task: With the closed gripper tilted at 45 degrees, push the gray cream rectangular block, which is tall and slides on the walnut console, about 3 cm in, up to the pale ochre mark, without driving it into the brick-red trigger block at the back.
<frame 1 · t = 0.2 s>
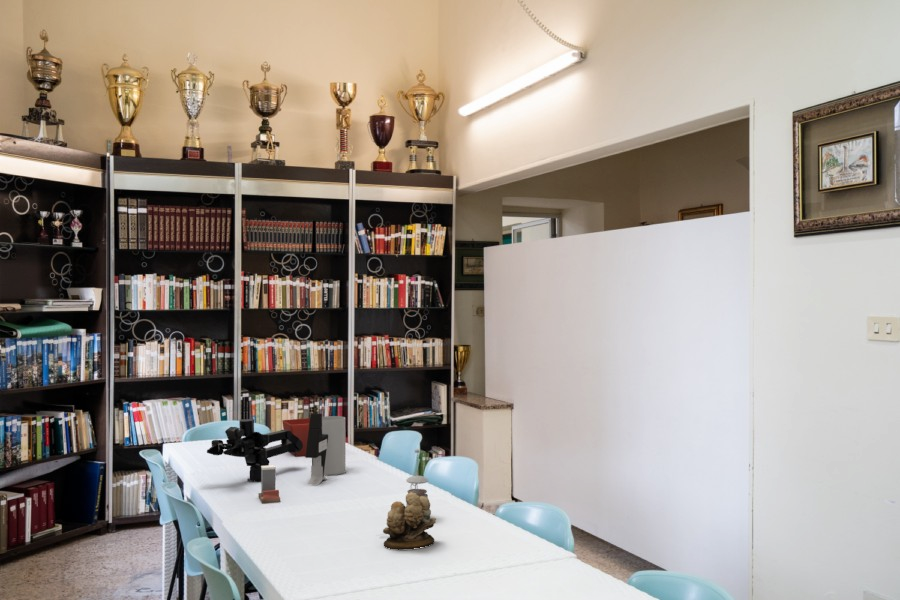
hand: (215, 452, 329), 17 cm above the table, tool horizontal, fingers open, 9 cm apart
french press: (416, 517, 292), on the table
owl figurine: (410, 544, 260), on the table
gray cream rectangular block: (268, 479, 320), point 7 cm above the table, slide at 0.0 cm
plant pot: (304, 454, 411), on the table
cylinder vase: (331, 473, 366), on the table
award: (317, 482, 348), on the table
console: (269, 499, 317), on the table
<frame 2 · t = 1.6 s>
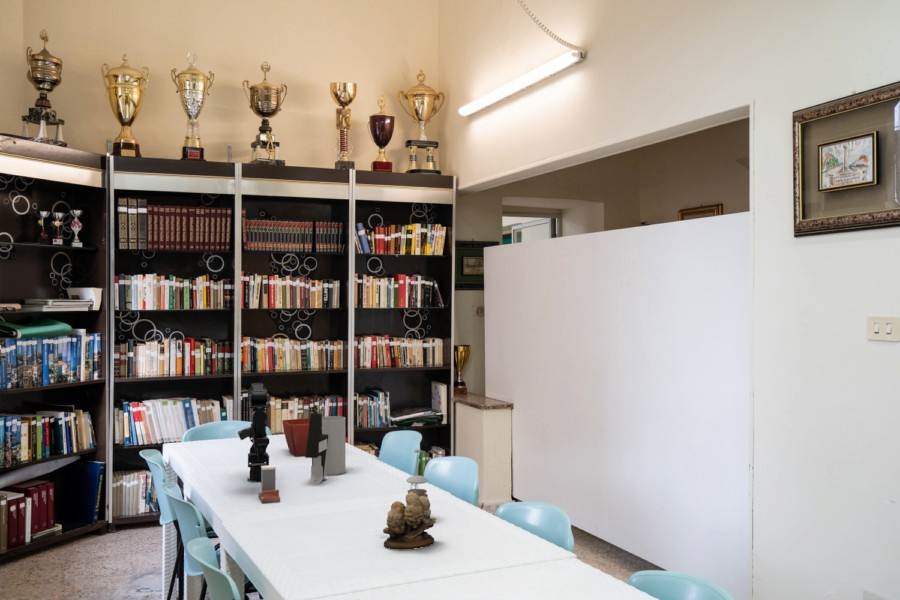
hand: (259, 458, 333), 13 cm above the table, tool pointing down, fingers open, 8 cm apart
nothing on the table moved.
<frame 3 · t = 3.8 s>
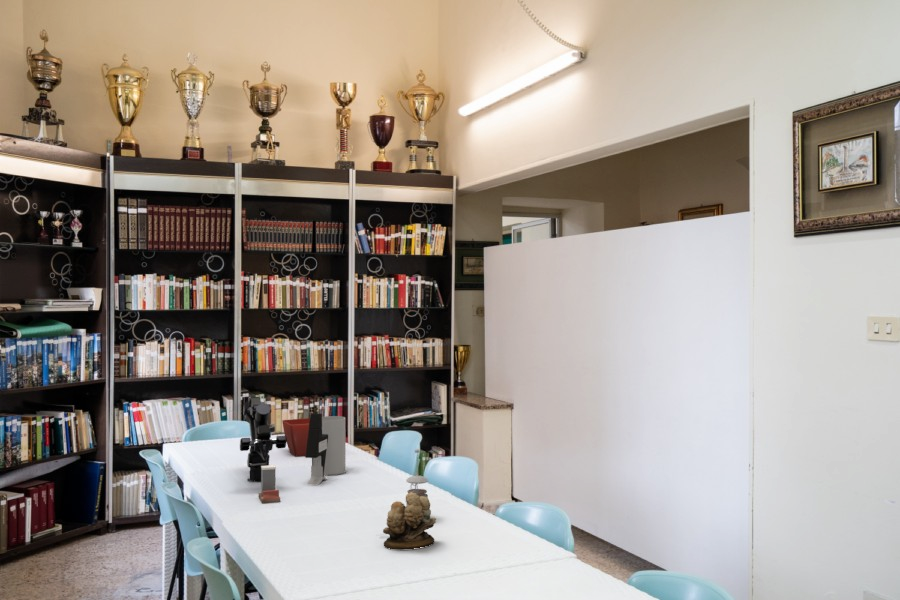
hand: (265, 460, 328), 14 cm above the table, tool tilted 45°, fingers closed
nothing on the table moved.
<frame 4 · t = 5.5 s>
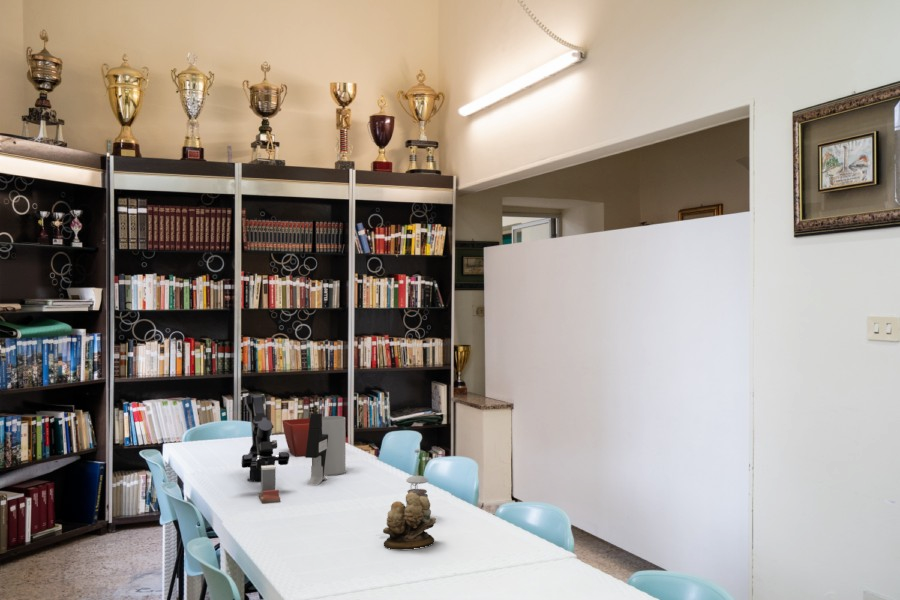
hand: (267, 477, 322), 8 cm above the table, tool tilted 45°, fingers closed, pressing on gray cream rectangular block
gray cream rectangular block: (268, 479, 320), point 7 cm above the table, slide at 0.0 cm, touching gripper
everything else where it was.
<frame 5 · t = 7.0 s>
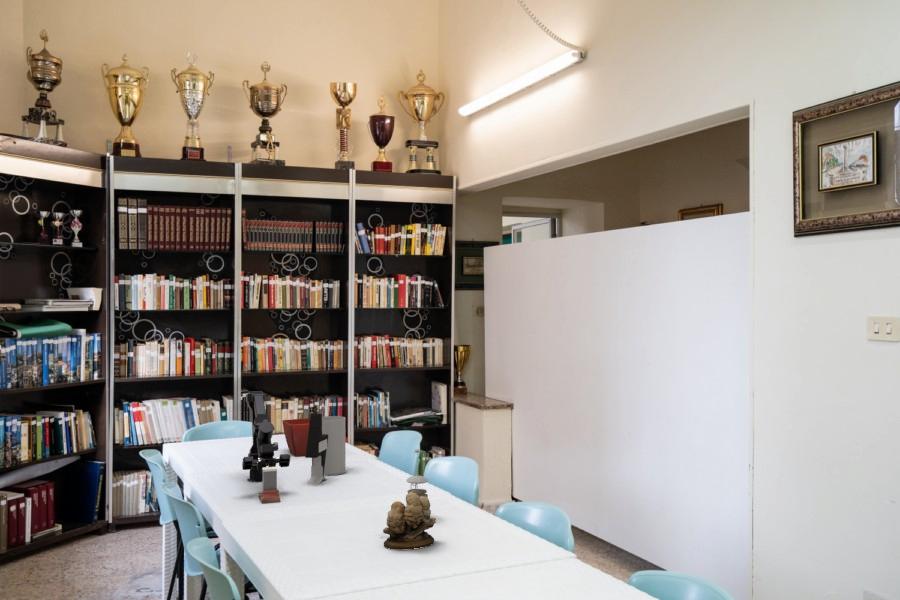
hand: (268, 479, 319), 7 cm above the table, tool tilted 45°, fingers closed
gray cream rectangular block: (269, 481, 316), point 7 cm above the table, slide at 3.5 cm
everything else where it was.
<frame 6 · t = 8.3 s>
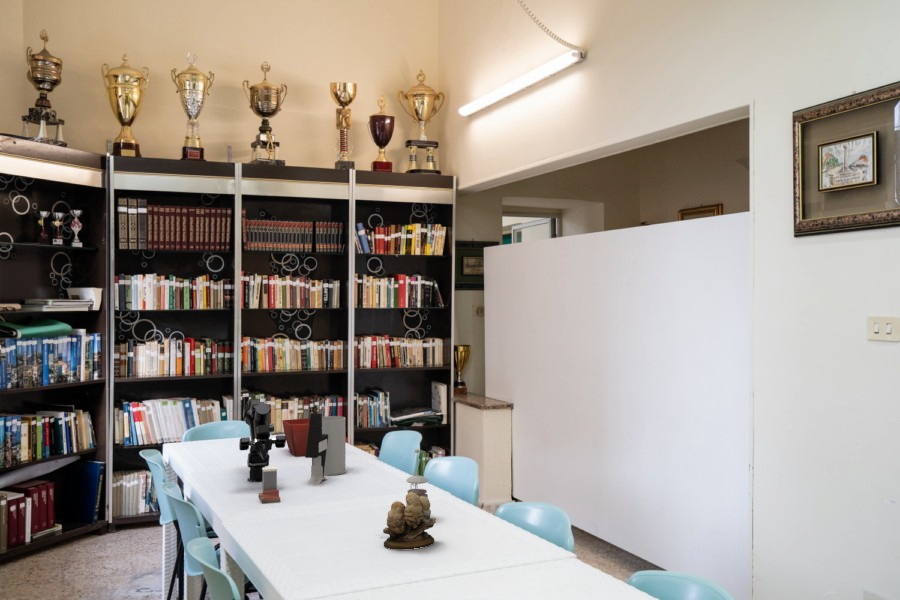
hand: (264, 459, 329), 13 cm above the table, tool tilted 45°, fingers closed
nothing on the table moved.
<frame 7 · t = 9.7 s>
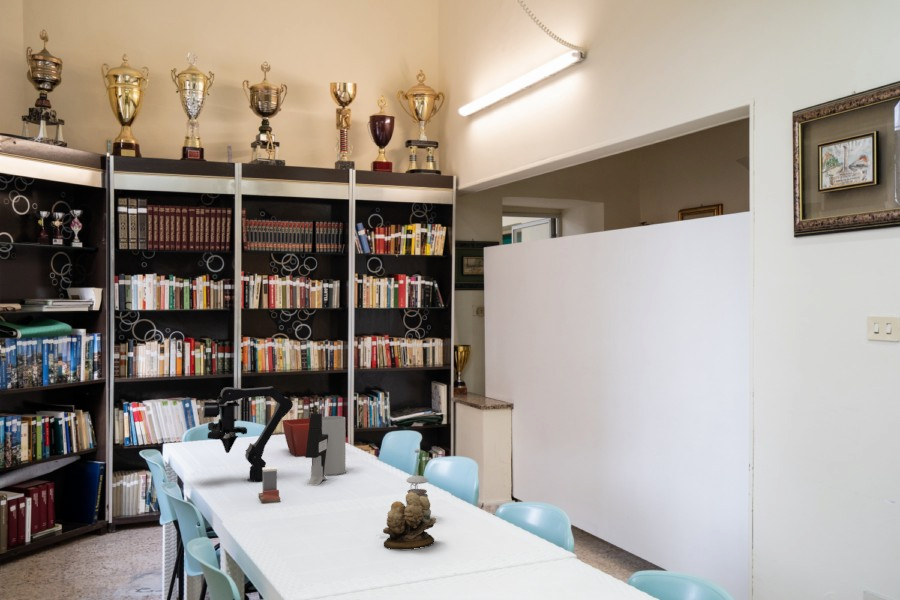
hand: (227, 452, 346), 13 cm above the table, tool pointing down, fingers closed
nothing on the table moved.
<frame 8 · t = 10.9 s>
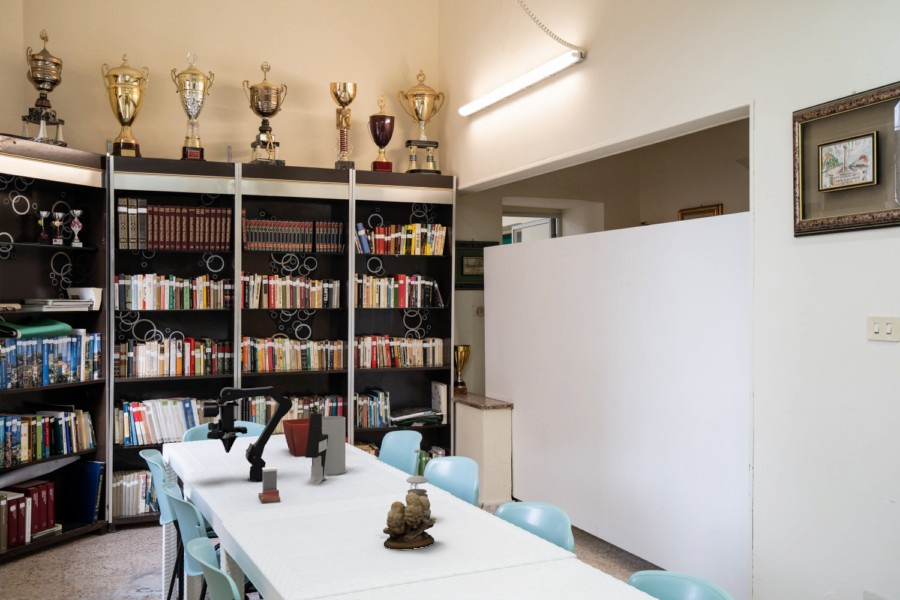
hand: (227, 452, 346), 13 cm above the table, tool pointing down, fingers closed
nothing on the table moved.
at the end: gray cream rectangular block slide at 3.5 cm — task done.
